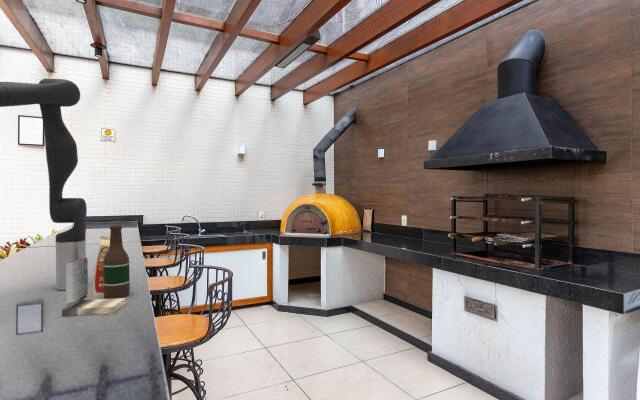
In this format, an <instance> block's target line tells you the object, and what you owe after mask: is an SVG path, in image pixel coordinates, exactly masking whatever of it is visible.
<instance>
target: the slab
mask: <svg viewBox="0 0 640 400" xmlns="http://www.w3.org/2000/svg"><path fill="white" fill-rule="evenodd" d="M87 260H88V257H86V258H79V259H76V260H73V261H70V262H67V263H66V290H65V292H66V294H65V295H66V297H65V298H66V299H65V300H66V303H68V304H67V306H68V307H72V306H74V305H75V304H77V303H79V302H81V301H82V300H87V298H88V293H89V292H88V291H89V290H88V289H89V288H88V287H89V286H88V285H89V271H88V272H87ZM67 306H66V307H67Z"/></svg>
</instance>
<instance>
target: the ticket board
mask: <svg viewBox="0 0 640 400" xmlns="http://www.w3.org/2000/svg"><path fill="white" fill-rule="evenodd" d="M125 306H126V297H124V298H115V299H106V298H99V299H98V298H97V299H84V300H82V301H81V302H79V303H77V304H75V305H74V306H72V307H68V306H65V307H64V308H62V309H61V317H72V316H73V317H75V316H77V317H78V316H92V315H112V314H115V313H116V312H118V311H119V310H121V308H123V307H125Z"/></svg>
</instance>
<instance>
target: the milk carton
mask: <svg viewBox="0 0 640 400" xmlns="http://www.w3.org/2000/svg"><path fill="white" fill-rule="evenodd" d="M99 238H100V246H99V250H98V253H97V257H96V261H95V267H94V274H93V281H92V282H93V283H92V284H93V286H92V287H93V290H92V297H97V296H104V289H103V260H104V257H105V254H106V253H107V251H108V250H109V246H110V236H104V235H100V237H99ZM123 240H124V238H122V241H123Z"/></svg>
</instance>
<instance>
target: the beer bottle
mask: <svg viewBox="0 0 640 400" xmlns="http://www.w3.org/2000/svg"><path fill="white" fill-rule="evenodd" d="M109 229H110V235H109V238H110V246H109V250H108V251H107V253H106V254H105V257H104V260H103V289H104V295H103V297H104V299H115V298H126V297H129V296H130V289H131V288H130V285H131V284H130V280H131V279H130V258H129V255H128V253H127V251H126V250H125V248H124V245H123V240H122V239H123V235H122V234H123V233H122V229H123V226H122V225H120V224H112V225H109Z"/></svg>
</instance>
